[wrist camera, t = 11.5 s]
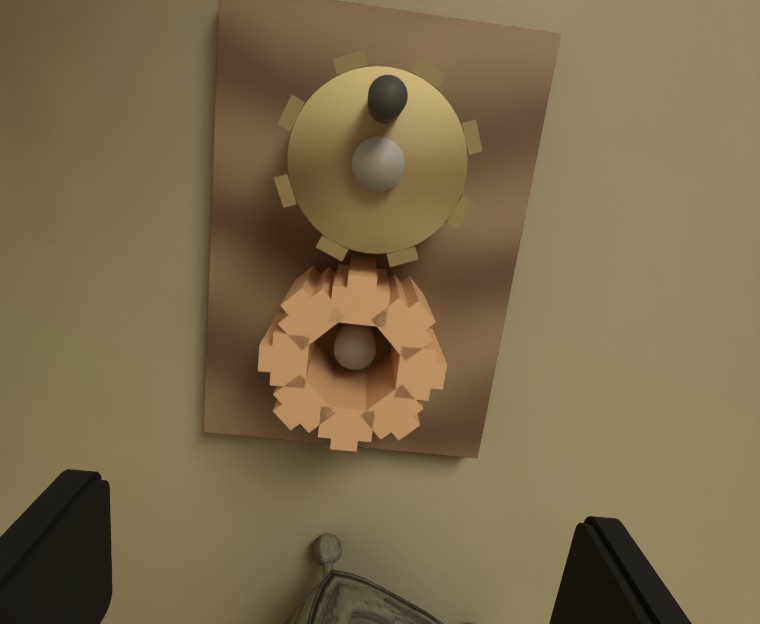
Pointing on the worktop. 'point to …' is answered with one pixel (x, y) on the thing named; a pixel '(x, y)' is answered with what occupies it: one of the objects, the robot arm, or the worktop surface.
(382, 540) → the worktop surface
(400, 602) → the tabletop clock
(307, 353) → the terracotta gear
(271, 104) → the gear board
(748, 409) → the worktop surface
